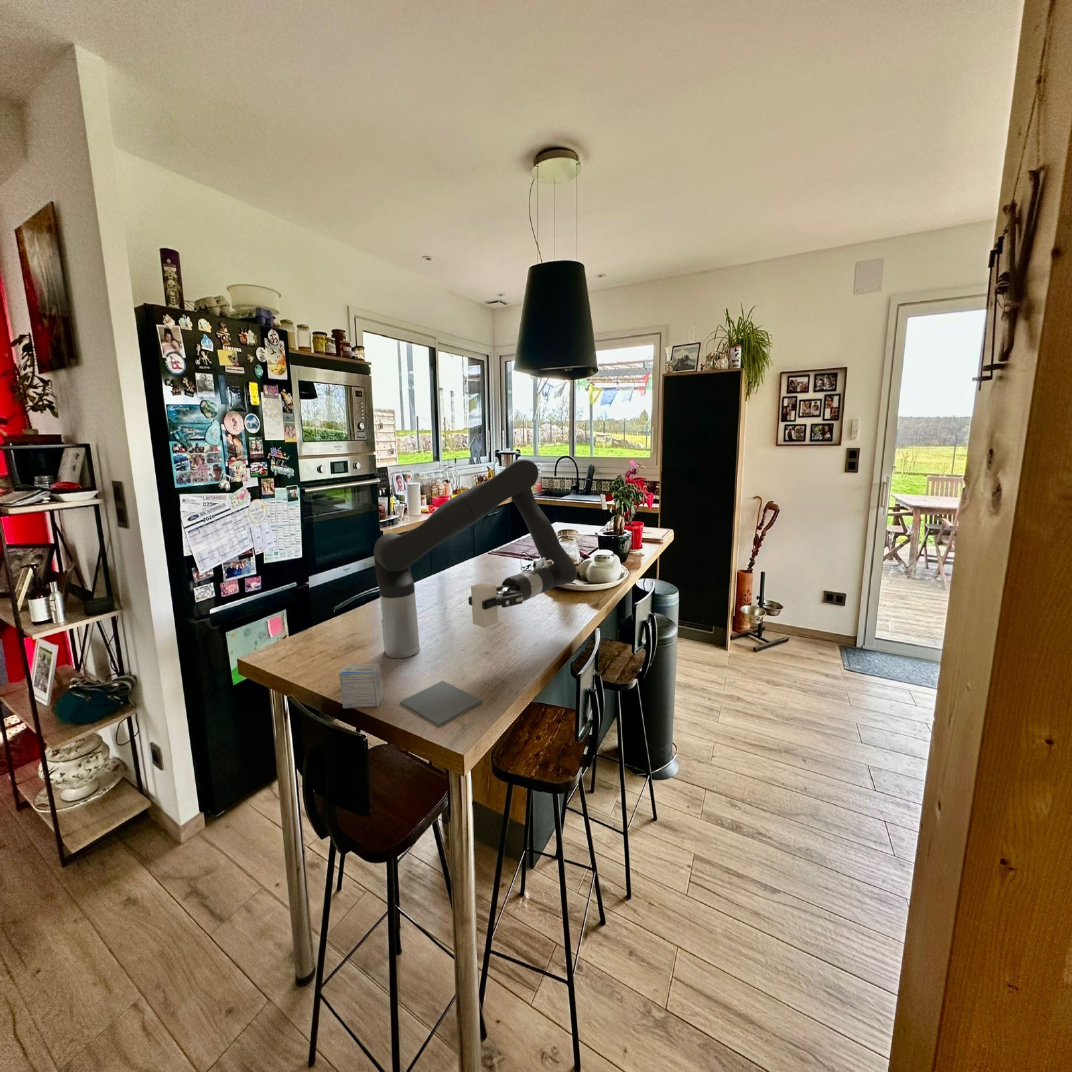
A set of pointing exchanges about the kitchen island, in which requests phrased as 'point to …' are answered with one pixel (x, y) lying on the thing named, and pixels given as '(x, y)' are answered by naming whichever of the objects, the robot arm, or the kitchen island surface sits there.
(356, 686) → the medicine box
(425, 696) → the slate mat
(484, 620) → the cream block
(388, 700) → the kitchen island surface
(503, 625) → the kitchen island surface
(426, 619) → the kitchen island surface
